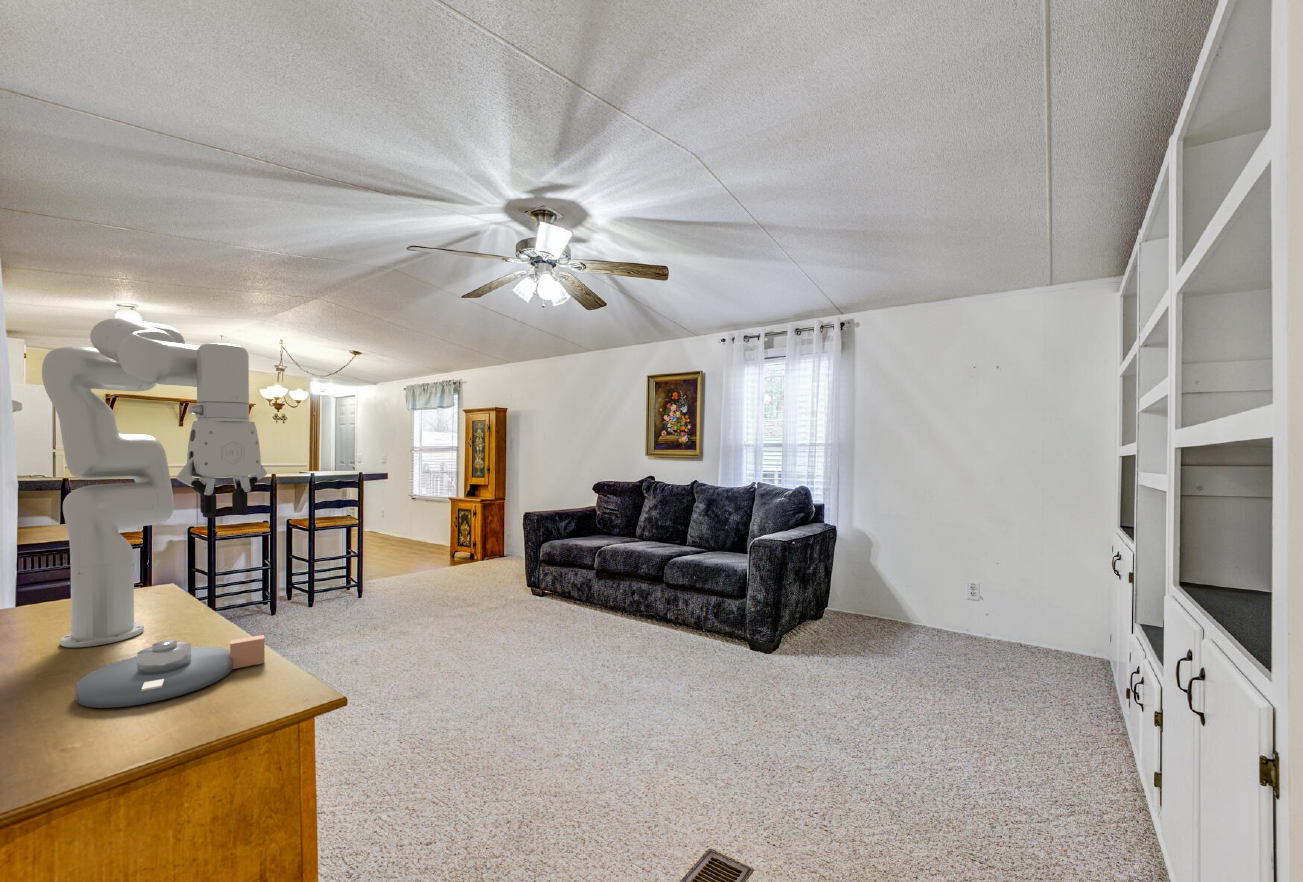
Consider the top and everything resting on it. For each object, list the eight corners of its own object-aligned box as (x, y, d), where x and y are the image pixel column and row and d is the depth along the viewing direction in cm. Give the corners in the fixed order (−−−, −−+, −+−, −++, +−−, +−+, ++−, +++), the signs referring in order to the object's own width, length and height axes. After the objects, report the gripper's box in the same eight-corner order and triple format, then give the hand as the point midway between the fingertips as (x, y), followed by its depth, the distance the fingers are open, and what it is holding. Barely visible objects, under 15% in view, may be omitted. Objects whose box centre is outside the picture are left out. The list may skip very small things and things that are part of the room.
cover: (134, 679, 93) (134, 654, 93) (139, 665, 99) (139, 641, 99) (190, 668, 98) (190, 644, 98) (192, 656, 103) (191, 633, 103)
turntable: (60, 720, 84) (60, 690, 84) (91, 674, 100) (91, 648, 100) (265, 679, 98) (265, 653, 98) (263, 644, 114) (263, 622, 114)
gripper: (179, 411, 95) (180, 523, 95) (283, 414, 110) (284, 511, 110) (156, 412, 99) (157, 520, 99) (261, 415, 114) (261, 509, 114)
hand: (224, 514), depth 105 cm, fingers open, 4 cm apart
